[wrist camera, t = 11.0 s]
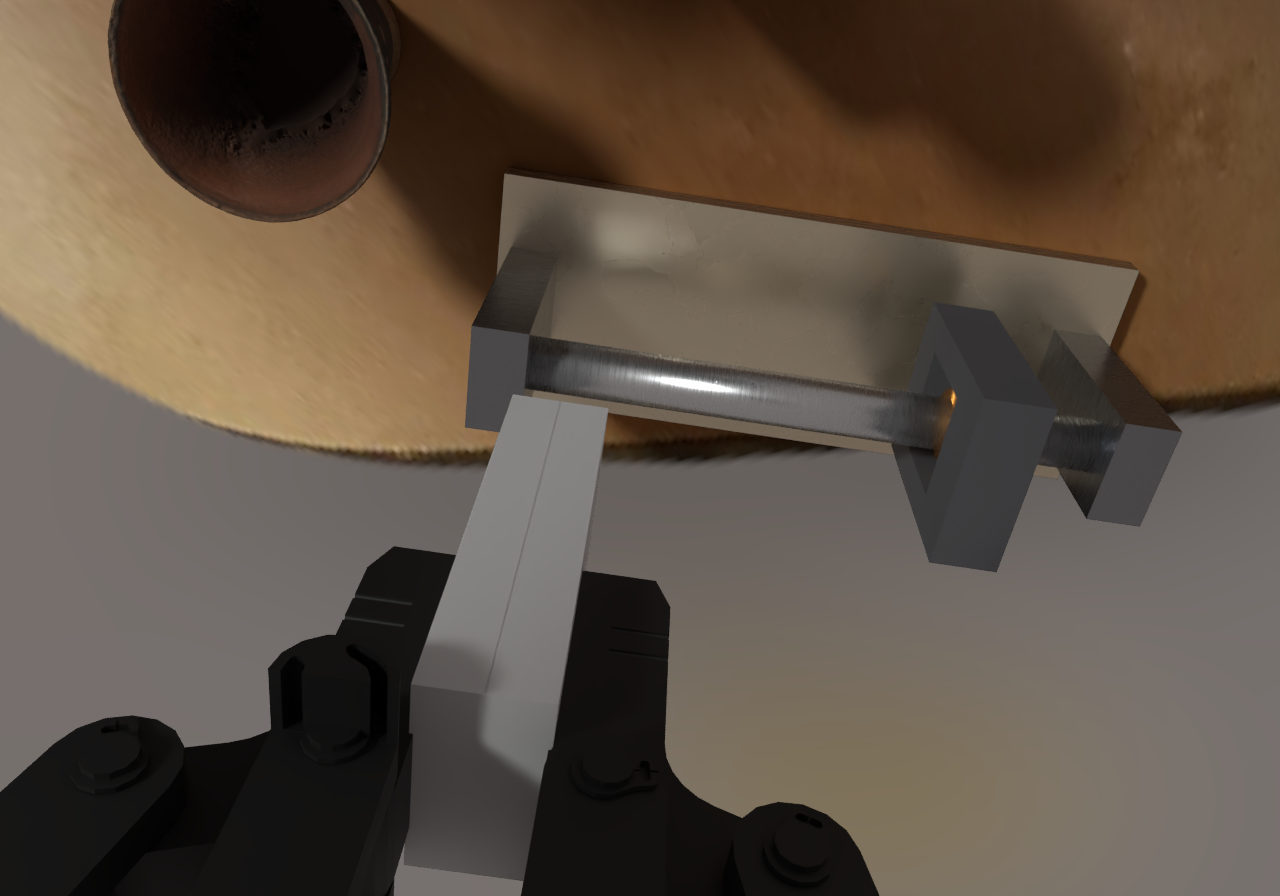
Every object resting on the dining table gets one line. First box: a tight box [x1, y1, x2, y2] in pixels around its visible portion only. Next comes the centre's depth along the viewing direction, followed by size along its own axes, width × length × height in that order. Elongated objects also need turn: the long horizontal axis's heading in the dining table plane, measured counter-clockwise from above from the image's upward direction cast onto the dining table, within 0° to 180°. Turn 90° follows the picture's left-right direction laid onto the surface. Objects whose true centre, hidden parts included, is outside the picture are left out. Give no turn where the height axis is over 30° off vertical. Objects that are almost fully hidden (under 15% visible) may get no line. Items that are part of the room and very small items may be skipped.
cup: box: [108, 0, 401, 222], centre depth 37 cm, size 9×9×10 cm
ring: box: [891, 302, 1058, 572], centre depth 39 cm, size 2×6×8 cm, turn 172°
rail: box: [465, 167, 1182, 526], centre depth 41 cm, size 26×10×10 cm, turn 82°
